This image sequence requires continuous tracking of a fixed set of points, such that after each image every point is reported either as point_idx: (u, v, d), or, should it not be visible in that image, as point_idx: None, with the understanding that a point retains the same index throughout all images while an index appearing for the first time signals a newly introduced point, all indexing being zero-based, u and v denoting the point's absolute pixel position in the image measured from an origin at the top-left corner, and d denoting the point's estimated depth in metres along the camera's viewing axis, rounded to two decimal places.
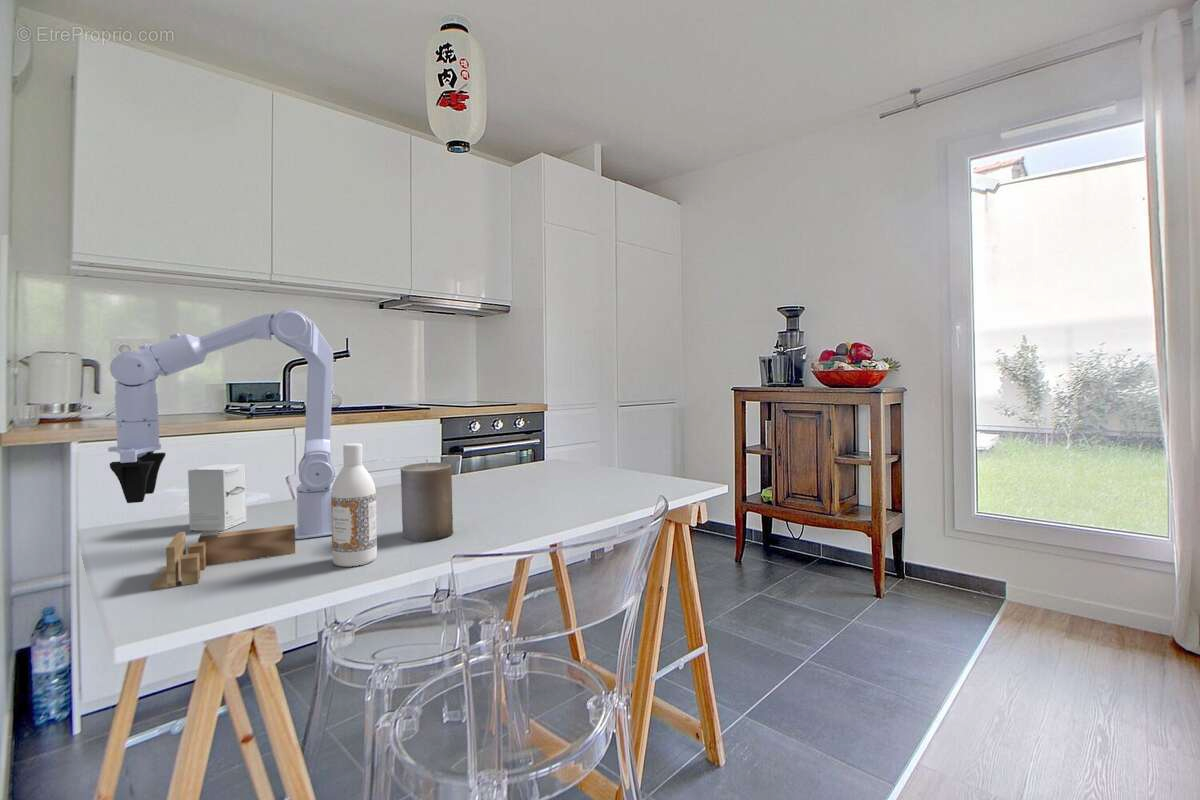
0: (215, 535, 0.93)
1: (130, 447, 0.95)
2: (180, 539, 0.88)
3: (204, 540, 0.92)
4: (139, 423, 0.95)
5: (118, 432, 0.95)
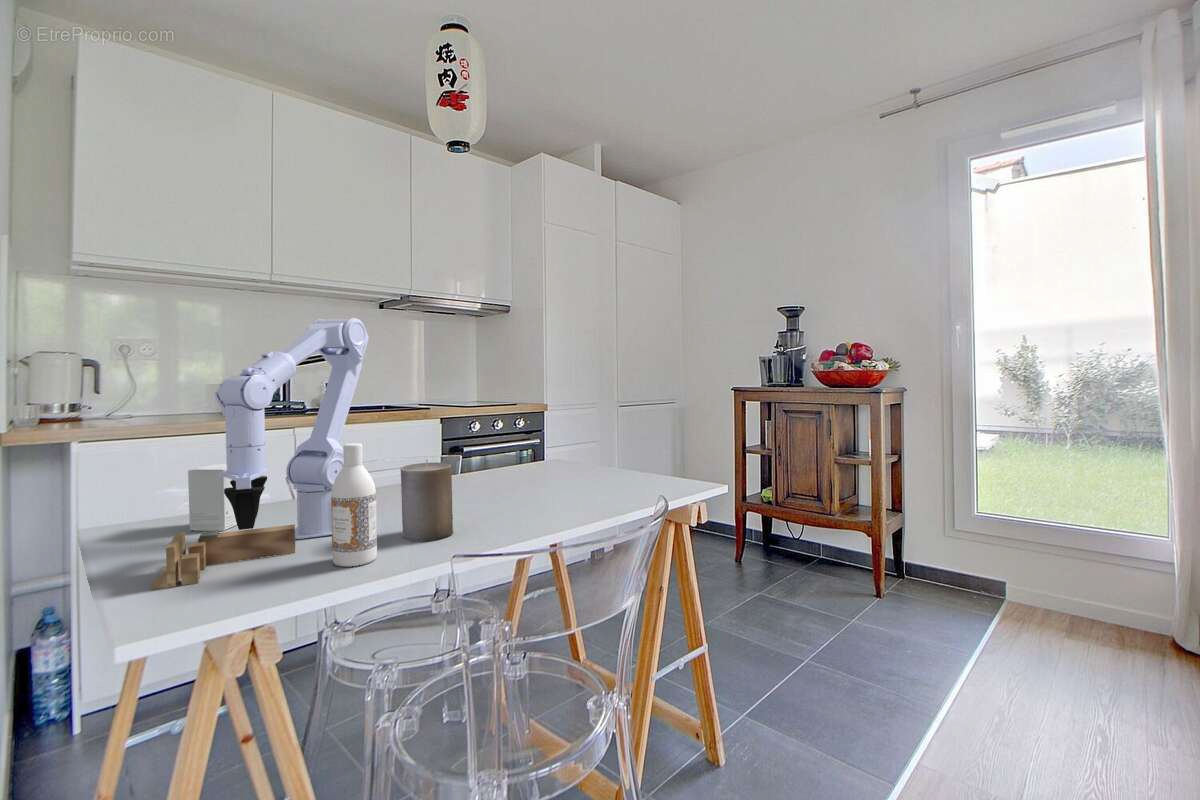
0: (215, 535, 0.93)
1: (241, 473, 0.93)
2: (180, 539, 0.88)
3: (204, 540, 0.92)
4: (250, 448, 0.94)
5: (229, 457, 0.93)
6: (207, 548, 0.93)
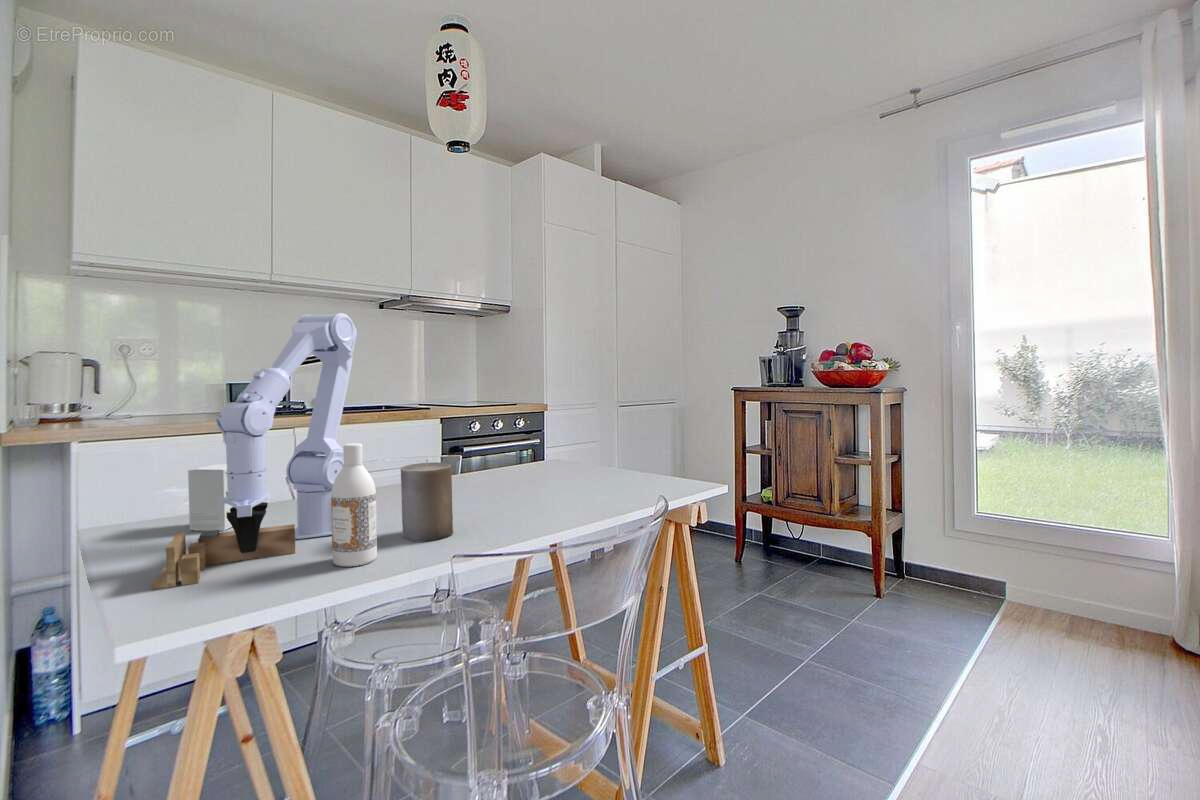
0: (215, 535, 0.93)
1: (242, 499, 0.94)
2: (180, 539, 0.88)
3: (204, 540, 0.92)
4: (251, 475, 0.94)
5: (230, 484, 0.94)
6: (207, 548, 0.93)
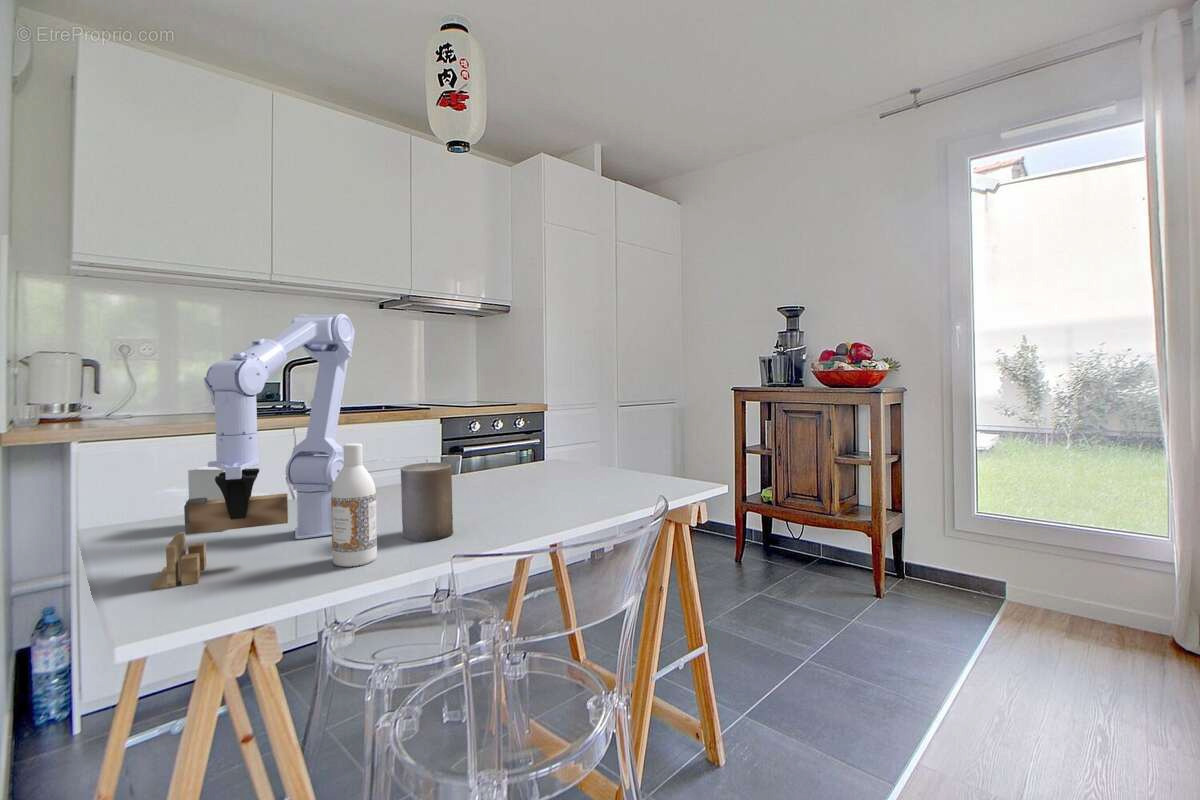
0: (202, 502, 0.88)
1: (231, 462, 0.88)
2: (180, 539, 0.88)
3: (191, 507, 0.87)
4: (241, 436, 0.89)
5: (218, 446, 0.89)
6: (194, 515, 0.88)
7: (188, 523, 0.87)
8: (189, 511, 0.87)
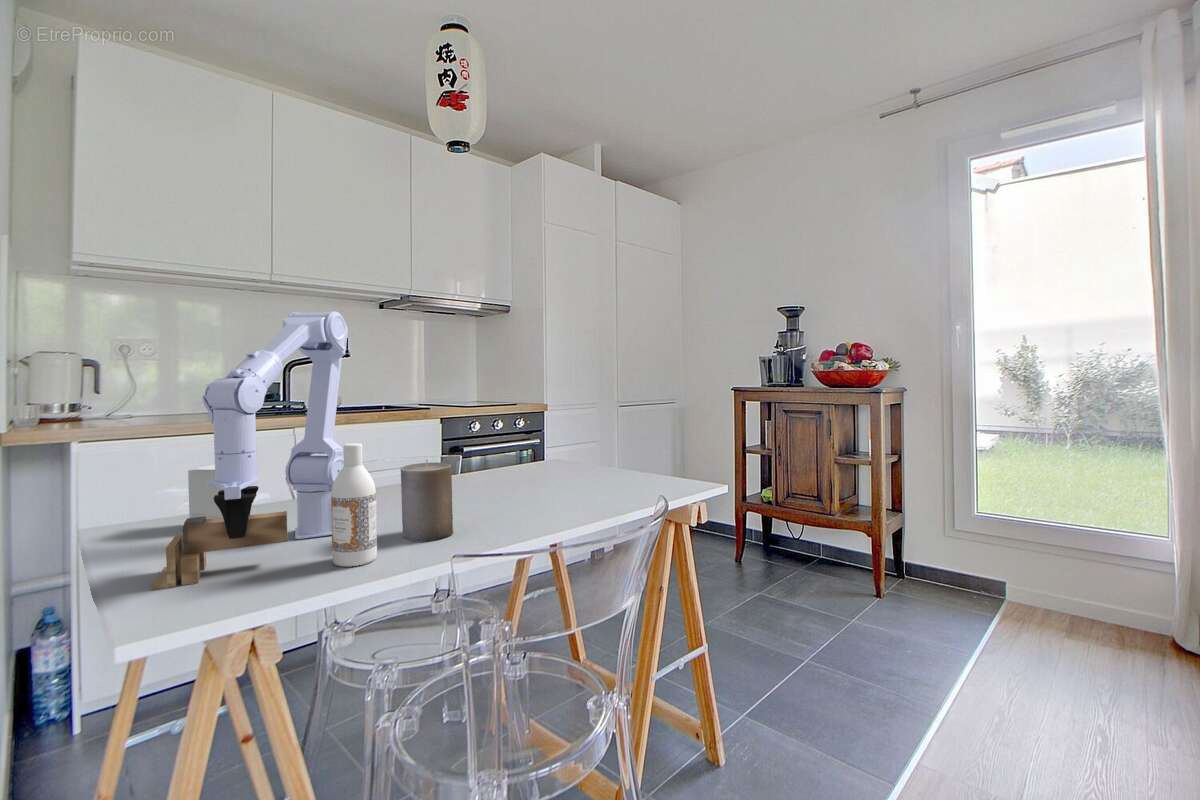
0: (201, 521, 0.87)
1: (230, 481, 0.88)
2: (180, 539, 0.88)
3: (189, 527, 0.86)
4: (240, 455, 0.88)
5: (217, 464, 0.88)
6: (192, 535, 0.87)
7: (186, 543, 0.86)
8: (188, 531, 0.86)
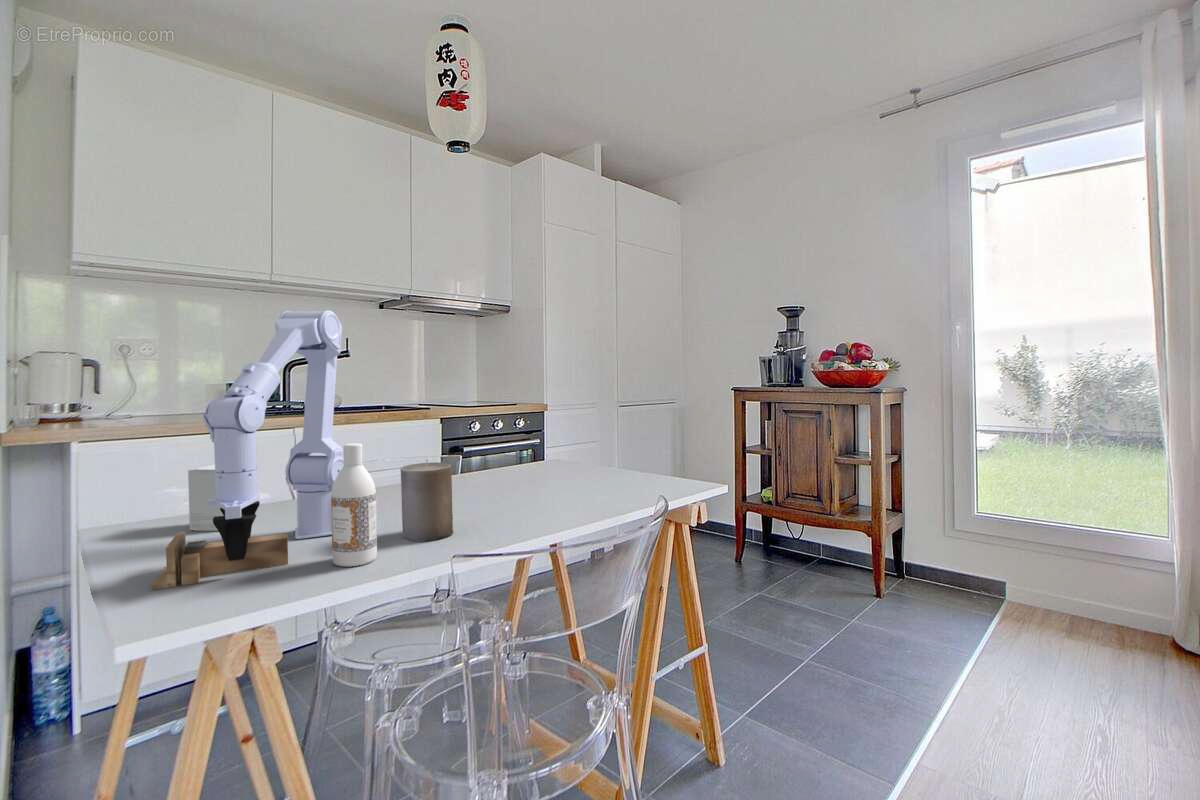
0: (202, 546, 0.87)
1: (231, 500, 0.88)
2: (180, 539, 0.88)
3: (190, 551, 0.87)
4: (240, 474, 0.88)
5: (218, 483, 0.88)
6: None
7: None
8: None
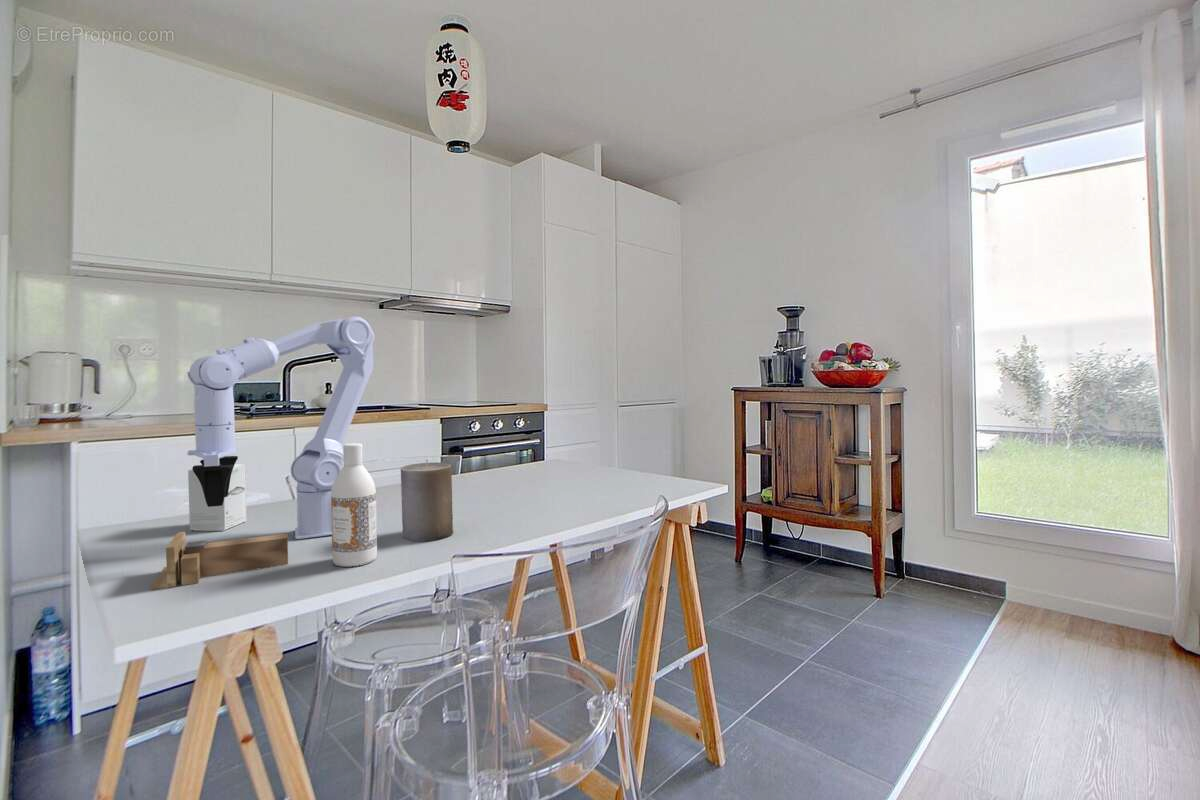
0: (202, 546, 0.87)
1: (210, 451, 0.95)
2: (180, 539, 0.88)
3: (190, 551, 0.87)
4: (218, 427, 0.95)
5: (198, 435, 0.95)
6: None
7: None
8: None
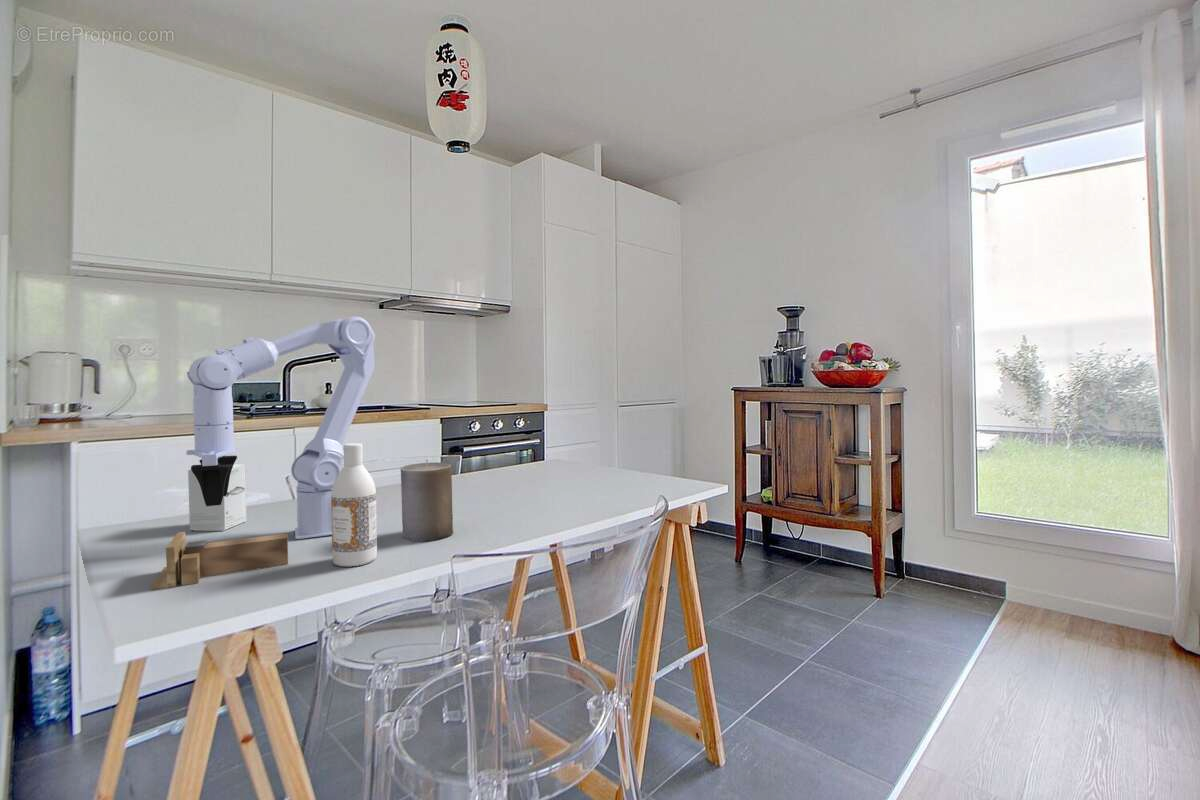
0: (202, 546, 0.87)
1: (208, 450, 0.95)
2: (180, 539, 0.88)
3: (190, 551, 0.87)
4: (217, 426, 0.96)
5: (196, 435, 0.95)
6: None
7: None
8: None
